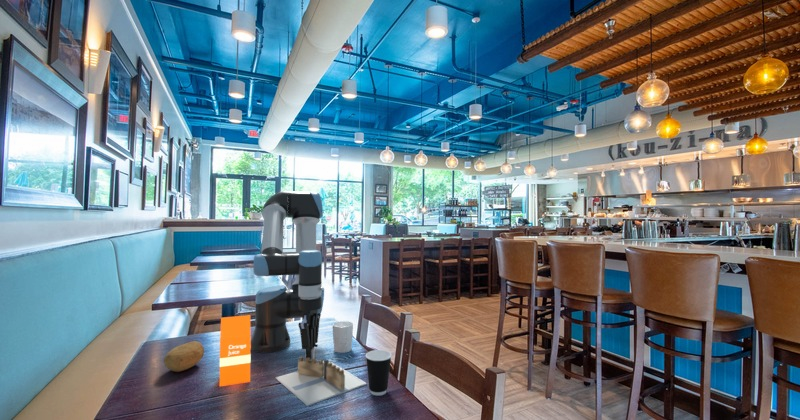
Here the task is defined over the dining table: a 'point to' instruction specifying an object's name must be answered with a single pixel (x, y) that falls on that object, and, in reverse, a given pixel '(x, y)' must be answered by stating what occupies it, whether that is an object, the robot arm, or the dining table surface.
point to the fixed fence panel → (334, 375)
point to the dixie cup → (378, 371)
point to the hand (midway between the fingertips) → (310, 367)
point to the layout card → (317, 386)
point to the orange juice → (235, 350)
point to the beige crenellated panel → (310, 367)
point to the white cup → (342, 336)
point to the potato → (184, 356)
